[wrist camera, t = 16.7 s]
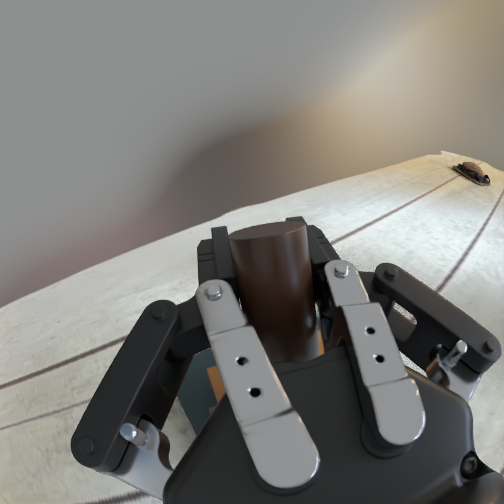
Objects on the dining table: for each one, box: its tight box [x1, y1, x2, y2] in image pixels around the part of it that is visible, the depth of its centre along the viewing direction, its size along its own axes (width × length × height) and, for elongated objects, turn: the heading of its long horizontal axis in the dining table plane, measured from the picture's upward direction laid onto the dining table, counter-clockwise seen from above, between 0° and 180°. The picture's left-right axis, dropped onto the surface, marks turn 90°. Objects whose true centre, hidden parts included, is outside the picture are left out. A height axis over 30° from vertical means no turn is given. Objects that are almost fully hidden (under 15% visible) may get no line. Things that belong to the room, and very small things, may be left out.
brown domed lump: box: [453, 162, 490, 185], centre depth 51 cm, size 11×8×4 cm
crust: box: [207, 366, 225, 403], centre depth 15 cm, size 3×3×2 cm
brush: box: [209, 221, 319, 415], centre depth 11 cm, size 8×4×12 cm, turn 110°
